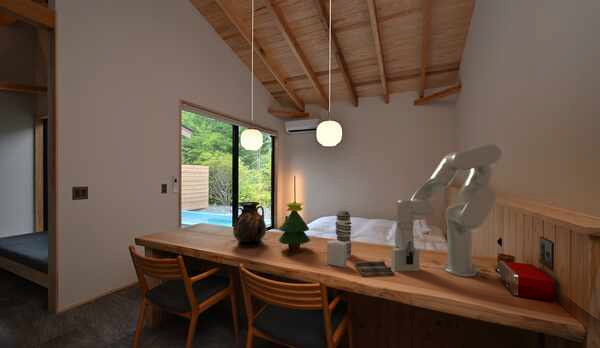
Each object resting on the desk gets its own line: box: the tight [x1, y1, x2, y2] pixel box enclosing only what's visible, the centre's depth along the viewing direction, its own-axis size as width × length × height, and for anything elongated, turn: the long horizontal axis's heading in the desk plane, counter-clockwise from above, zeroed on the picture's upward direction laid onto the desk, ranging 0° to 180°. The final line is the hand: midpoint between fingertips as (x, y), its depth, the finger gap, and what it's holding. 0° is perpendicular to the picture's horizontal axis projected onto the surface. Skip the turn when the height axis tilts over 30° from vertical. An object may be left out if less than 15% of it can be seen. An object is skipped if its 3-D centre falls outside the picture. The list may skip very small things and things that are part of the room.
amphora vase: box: [232, 201, 267, 249], centre depth 152 cm, size 22×22×28 cm
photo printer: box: [326, 239, 348, 268], centre depth 118 cm, size 10×4×12 cm, turn 60°
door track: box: [353, 260, 395, 277], centre depth 111 cm, size 15×12×3 cm
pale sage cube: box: [391, 247, 420, 272], centre depth 112 cm, size 12×3×10 cm, turn 93°
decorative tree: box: [278, 201, 311, 253], centre depth 142 cm, size 19×19×30 cm
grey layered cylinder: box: [335, 210, 352, 258], centre depth 132 cm, size 9×9×25 cm
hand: (404, 260), depth 112 cm, fingers open, 9 cm apart
